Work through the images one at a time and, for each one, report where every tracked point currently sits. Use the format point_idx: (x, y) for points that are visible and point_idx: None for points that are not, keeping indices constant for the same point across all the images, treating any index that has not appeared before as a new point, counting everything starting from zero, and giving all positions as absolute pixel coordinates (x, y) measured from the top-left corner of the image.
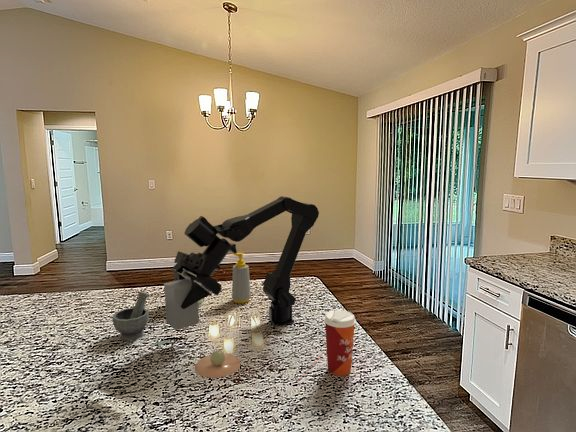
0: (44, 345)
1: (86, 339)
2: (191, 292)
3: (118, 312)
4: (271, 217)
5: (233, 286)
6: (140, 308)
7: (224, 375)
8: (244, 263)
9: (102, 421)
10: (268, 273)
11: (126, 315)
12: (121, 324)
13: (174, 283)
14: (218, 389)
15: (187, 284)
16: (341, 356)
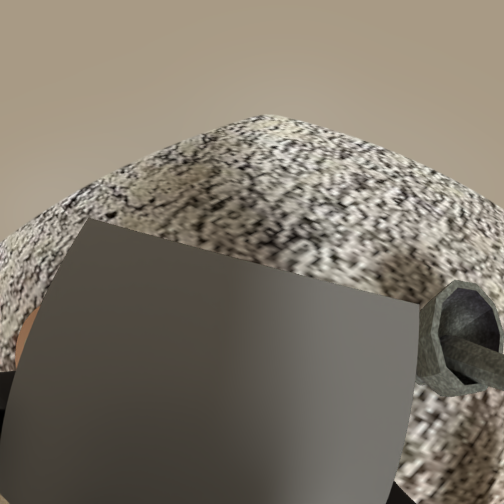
0: (469, 221)
1: (463, 273)
2: (10, 376)
3: (493, 311)
4: None
5: None
6: (479, 365)
7: (25, 323)
8: None
9: (161, 157)
10: None
11: (486, 344)
12: (438, 293)
13: (295, 411)
14: (34, 300)
15: (59, 462)
16: None
